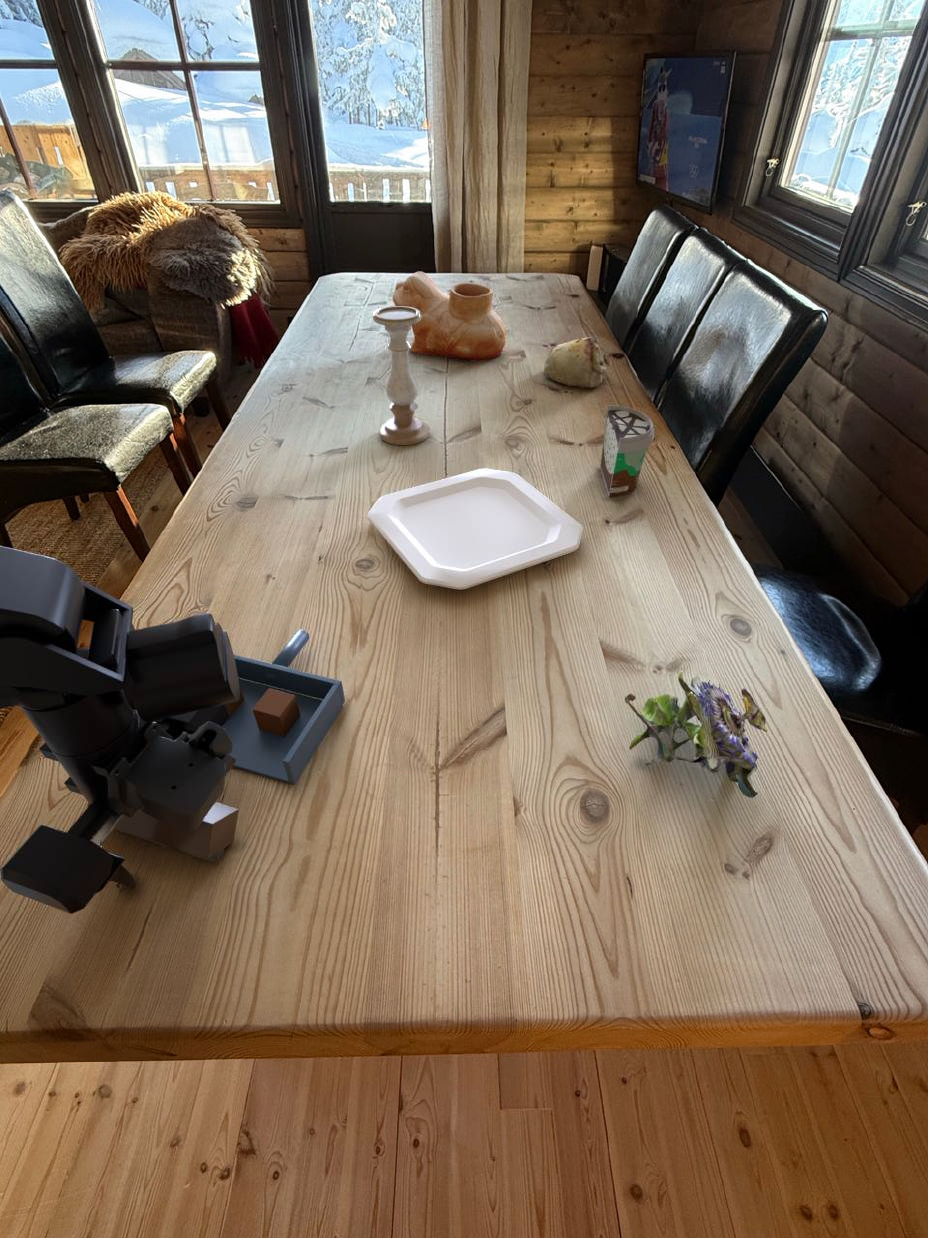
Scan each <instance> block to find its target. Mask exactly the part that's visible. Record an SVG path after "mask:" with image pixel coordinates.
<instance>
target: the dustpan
mask: <svg viewBox="0 0 928 1238" xmlns="http://www.w3.org/2000/svg"><path fill="white" fill-rule="evenodd" d="M309 640H310V633H309V632H308V631H307V630H305V629H298V630H297V631H296V632H295V633H294V635H293V636H292V637H291V638H290V640H288V642H287V644H285V646H284V647H283V648H282V650H281V651H280V653H279V654H278V655H277V656H276V657H275V658H274V660H273V661H272V662H267V661H263V660H259V659H256V658H251V657H247V656H243V655H240V654H235V653H233V654H234V659H235V663H236V668H237V673H238V680H239V685H240V688H241V691H242V694H243V697H244V701H243V702H242V703H241V705H240V706H239V707H238V709H237V710H236V711H235V712H234V714H233V715H232V716H231V717H230V719H229V720H227V721H226V722H225V724H224V725H223V726H222V727H223V728H224V729H225V730H226V732H227V734H228V736H229V738H230V739H231V741H232V745H233V746H232V752H231V753H230V755H232V756H233V757H234V758H235V759H236V762H235V764H234V765H233V766H232V768H237V769H240V770H244V771H248V772H251V773H254V774H258V775H261V776H264V777H268V778H271V779H274V780H278V781H281V782H284V783H287V784H291V785H294V786H295V785H296V784H297V782H298V780H299V779H300V777H301V775H302V774H303V772H304V771H305V769H306V767H307V766H308V764H309V763H310V761H311V759H312V758H313V756H314V754H315V753H316V751H317V750H318V749H319V747H320V745H321V743H322V742H323V740H324V738H325V737H326V735H327V734H328V732H329V731H330V729H331V728H332V727H333V726H332V725H334V723H335V721H336V719H337V718H338V716H339V714H341V711H342V710H343V708H344V704H345V702H346V697H345V692H344V686H343V682H342V680H340V679H339V680H338V679H335V678H331V677H326V676H323V675H319V674H315V673H311V672H307V671H302V670H299V669H295V668H291V667H290V666H291V664H292V663H293V662H294V660H295V658H297V656H298V655H299V654H300V652H301V651H302V649H303V648H304V647H305V645H306V644H307V643H308V642H309ZM269 688H270V689H274V690H278V691H281V692H285V693H288V694H292V695H295V696H296V700H297V704H298V708H299V712H300V716H299V718H298V719H297V721H296V722H295V723H294V725H293V726H292V728H291V729H290V731H289V732H288V733H287V735H286V736H285V737H283V736H280V735H276V734H273V733H270V732H266V731H263V730H259V728H258V725H257V722H256V719H255V716H254V713H253V708H254V707H255V706H256V704H257V703H258V702H259V700H260V699H261V698H262V697H263V695H264V694H265V693H266V691H267V690H268V689H269Z"/></svg>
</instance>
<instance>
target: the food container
mask: <svg viewBox="0 0 928 1238" xmlns="http://www.w3.org/2000/svg"><path fill="white" fill-rule="evenodd" d="M654 429H655V428H654V425H653V420H652V419H651V418H650V417H649V416H648V415H647V414H646V413H644V412H642V411H640V410H637V409H634V408H632V407H627V406H622V405H614V404H613V405H610V404H608V405H607V407H606V412H605V423H604V432H603V440H602V447H601V448H602V449H601V457H600V464H599V469H600V472H601V475H602V479H603V482H604V485H605V489H606V493H607V497H608V498H618V497H622V496H625V495H628V494H631V493H633V492H634V491H635V489H636V488H637V485H638V481H639V478H640V474H641V471H642V467H643V463H644V460H645V456H646V453H647V449H648V447H650V446H651V445H652V444H653V442H654V440H655V430H654Z"/></svg>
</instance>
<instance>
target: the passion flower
mask: <svg viewBox="0 0 928 1238" xmlns="http://www.w3.org/2000/svg"><path fill="white" fill-rule="evenodd" d="M684 672H685V671H684V670H680V671H679V672H678V677H677V680H678V683H679V685H680V687H681V688H682V690H683V692H684V695H685V699H684V701H683V703H682V707H680V706H679V705H678V702H679V701H678V700H679V698H678V697H677V696H676V695H673V696H671V695H670V694H668V693H663V694H662V695H659V696H656V697H655V698H654V697H648V698H647V700H646V702H645V703H644V706H643V708H642V710H641V711H640V713H639V711H638V710H637V709H636V707H635V706H634V704H632V703H631V702H633V701H635V700H636V699H637V698H636V696H635V695H634V694H633V693H631V692H630V693H629V694H627V695H626V696H624V703H625V704H627V705H628V706H629V707H630V708H631V710H632V711H633V713H635V714H636V716H637V717H638V718H639V719H640V720H641V721H642V723H644V725H645V726H646V729H645V730H643V732H641V733H640V734H637V735H636V736H635V737H634V738H633V740H631V742H630V746H629V748H628V750H629V751H632V749H634V748H635V747H636V746H637V745H639V744H640V743H641V742H642V741H644V740H645V739H649V738H654V739H655V740H656V741H657V746H656V748H655V750H654V755H653V757H652V759H650V760H649V761H647V762H645V763H644V764H645V766H646V767H647V766H649V765H653V764H656V763H659V762H667V763H671V762H673V761H674V760H678V761H687V762H690V763H692V764H696V763H698V764H700V766H701V767H702V768H703V769H707V770H708V771H709V773H712V774H713V773H718V772H720V770H721V769H722V768H723V766H724V767H725V771H726V772H725V773H726V775H727V777H728V780H729V781H731V782H732V783H736V784H737V786H738V790H739V791H740V792H741V794H743V795H744V796H745V797H747V798H749V799H753V798H755V797H756V796H757V795H758V794H759V792H758V791H757V790H756V788H755V787H754V784H753V780H752V775H753V773H755V772H756V771H757V770H758V765H757V760H758V759H759V757H758V754H757V753H755V751H753V749H752V748H751V745H750V744H749V738H748V737H746V735H745V732H746V729H745V726H746V725H745V724H746V720H747V722H748V723H749V725H751V726H752V727H753V728H755V729H757V730H759V731H760V730H761V731H763V732H765V733H767V732H768V728H767V726H766V723H767V722H766V717H765V716H764V714H763V712H762V710H761V708H760V707H758V705H757V703H756V702H755V700H754V698H753V696H752V694H751V693H750V692H749V691H748V690H747V689H746V688H742V689H741V691H740V692H741V696H742V702H743V705H744V710H745V713H743V714H742V713H741V711H739V710H736V708H735V707H734V703H732V698H731V697H730V695H729V694H727V693H726V692H725V690H724V688H722V687H721V684H720V683H719V684H718V687H717V686H716V685H715V683H710V682H711V679H709V680H708V682H706V681H701V678H700V676H699V675H698V674H697V675H694V676H693V677H692V679H690V683H689V682H688V681H687V680H684V676H683V674H684ZM695 717H696V719H697V721H699V722H700V724H701V725H699V724H694V722H690V720H691V719H692V718H695ZM678 729H681V730H683V731H684V732H685V733H686V735H687V737H688V738H686V739H684V740H683V741H681V742H677V741H675V734H676V731H677V730H678ZM661 733H663V734H666V735H667V736H668V737H669V745H668V747H667V746H666V744H665V743H664V741H663V740H662V739H661V737H660V734H661ZM689 741H691V744H692V746H693V747H694V748H695V751H696V752H695V755H694V757H688V756H679V755H676V751H677V749H679V748H680V747H682V746H683V745H686V744H687V743H688V742H689Z"/></svg>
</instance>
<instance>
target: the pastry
mask: <svg viewBox="0 0 928 1238" xmlns="http://www.w3.org/2000/svg"><path fill="white" fill-rule="evenodd" d="M602 348H603V347H602V346H601V345H600V344H599V343H598V342H597V340H596V339H595V338H594V337H593V336H588V337H583V338H578V339H574V340H570V341H566V342H564V343H559V344H557V345H556V346H555V347H551V349H550V351H549V352H548V354H547V356H546V358H545V361H544V366H543V373H544V376H545V377H546V378H548V379H549V380H552V381H554V382H556V383H559V384H563V385H565V386H566V387H578V388H582V389H586V388H591V389H592V388H598V387H599V385H601V384H602V382H603V379H604V374H605V373H606V370H607V368H606V363H604V352H603V351H604V350H603V349H602Z"/></svg>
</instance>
